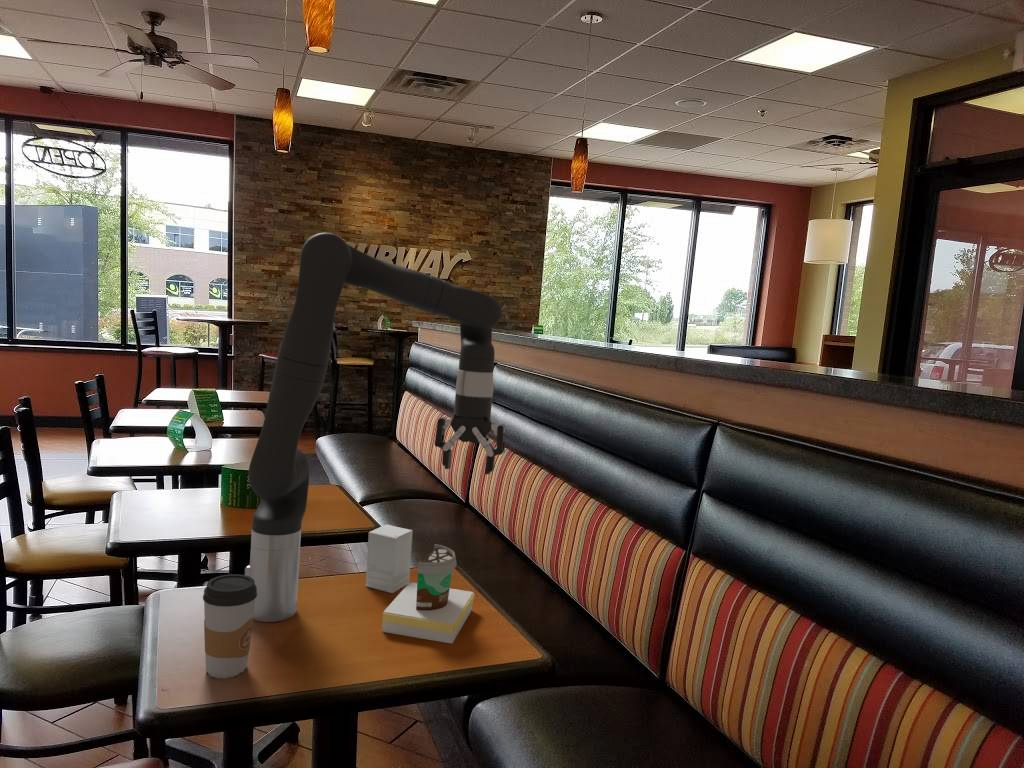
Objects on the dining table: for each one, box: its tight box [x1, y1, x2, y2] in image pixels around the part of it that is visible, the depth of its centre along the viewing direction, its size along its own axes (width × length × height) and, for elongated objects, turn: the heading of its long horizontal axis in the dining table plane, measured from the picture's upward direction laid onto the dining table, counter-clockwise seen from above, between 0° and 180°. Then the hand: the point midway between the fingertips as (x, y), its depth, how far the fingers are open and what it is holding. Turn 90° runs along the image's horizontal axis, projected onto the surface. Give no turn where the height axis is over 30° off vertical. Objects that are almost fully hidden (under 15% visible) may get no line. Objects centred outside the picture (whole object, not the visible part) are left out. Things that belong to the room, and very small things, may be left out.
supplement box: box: [365, 524, 413, 594], centre depth 157 cm, size 7×7×13 cm
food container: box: [416, 543, 458, 611], centre depth 140 cm, size 12×6×10 cm, turn 170°
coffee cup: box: [202, 573, 257, 679], centre depth 116 cm, size 8×8×15 cm
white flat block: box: [381, 581, 475, 645], centre depth 141 cm, size 14×16×4 cm
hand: (467, 471), depth 144 cm, fingers open, 8 cm apart
